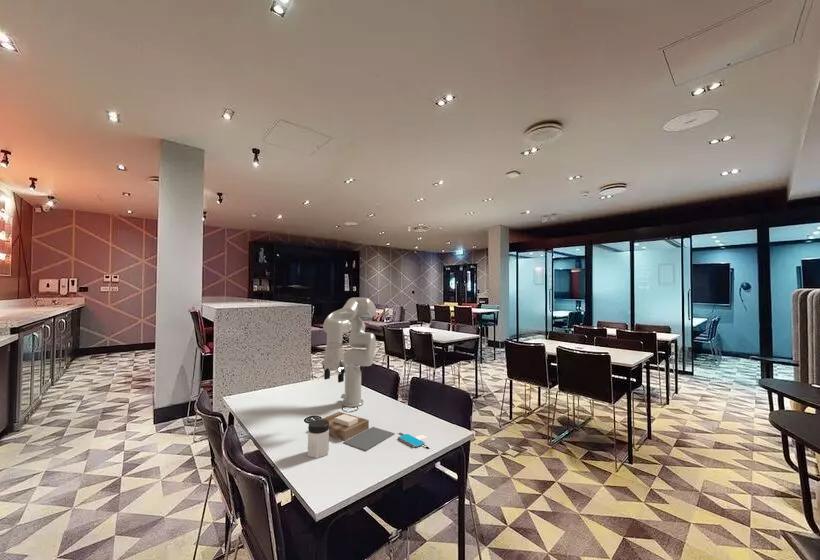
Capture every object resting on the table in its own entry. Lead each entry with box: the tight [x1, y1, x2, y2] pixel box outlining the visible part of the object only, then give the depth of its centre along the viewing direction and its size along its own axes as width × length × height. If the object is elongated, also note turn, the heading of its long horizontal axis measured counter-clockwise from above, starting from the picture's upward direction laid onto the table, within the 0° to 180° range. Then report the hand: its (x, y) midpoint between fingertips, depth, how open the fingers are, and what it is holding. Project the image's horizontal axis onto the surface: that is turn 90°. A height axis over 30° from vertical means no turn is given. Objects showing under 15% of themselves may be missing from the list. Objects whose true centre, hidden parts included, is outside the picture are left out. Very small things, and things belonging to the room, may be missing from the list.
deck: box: [318, 411, 370, 442], centre depth 158 cm, size 20×16×4 cm
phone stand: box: [397, 432, 428, 449], centre depth 147 cm, size 20×12×2 cm, turn 41°
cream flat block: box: [335, 413, 358, 426], centre depth 157 cm, size 9×6×2 cm, turn 57°
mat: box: [343, 426, 395, 452], centre depth 149 cm, size 13×20×1 cm, turn 147°
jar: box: [307, 418, 330, 459], centre depth 135 cm, size 9×8×12 cm
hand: (333, 380), depth 163 cm, fingers open, 9 cm apart
